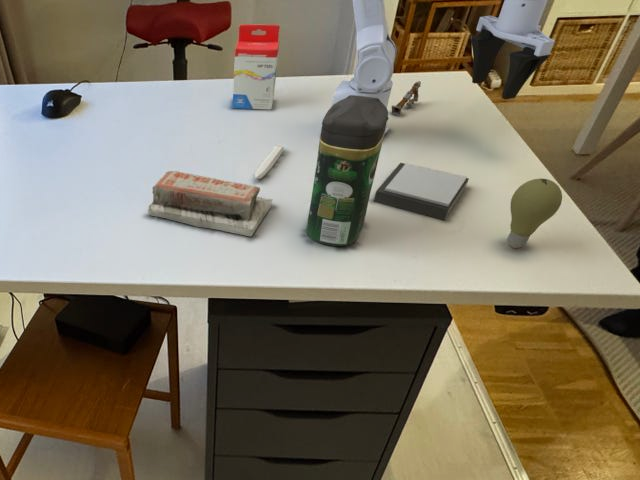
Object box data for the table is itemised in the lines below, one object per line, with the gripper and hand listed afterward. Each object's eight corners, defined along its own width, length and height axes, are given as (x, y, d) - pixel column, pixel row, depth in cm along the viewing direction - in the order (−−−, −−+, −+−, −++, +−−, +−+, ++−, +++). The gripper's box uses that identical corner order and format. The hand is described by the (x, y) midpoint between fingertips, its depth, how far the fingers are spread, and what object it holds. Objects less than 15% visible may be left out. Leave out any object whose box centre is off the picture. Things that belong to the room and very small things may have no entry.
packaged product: (143, 189, 84) (170, 161, 90) (146, 216, 88) (172, 187, 94) (254, 210, 78) (275, 178, 84) (252, 239, 82) (272, 206, 88)
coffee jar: (316, 209, 86) (336, 86, 73) (367, 219, 83) (398, 93, 70) (298, 241, 80) (316, 115, 67) (352, 253, 78) (383, 123, 64)
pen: (250, 184, 93) (250, 175, 92) (277, 149, 101) (277, 140, 100) (258, 186, 92) (259, 177, 91) (285, 150, 101) (286, 142, 100)
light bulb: (484, 237, 78) (512, 172, 71) (522, 233, 79) (554, 168, 71) (504, 259, 75) (536, 194, 67) (544, 255, 75) (580, 189, 67)
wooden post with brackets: (423, 98, 111) (424, 79, 107) (399, 125, 110) (399, 107, 106) (415, 96, 112) (416, 77, 108) (391, 123, 111) (391, 105, 107)
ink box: (231, 109, 115) (234, 31, 105) (234, 100, 119) (237, 23, 108) (272, 110, 114) (279, 31, 103) (274, 100, 117) (281, 23, 106)
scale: (373, 201, 87) (376, 188, 85) (397, 172, 93) (401, 159, 91) (444, 220, 82) (449, 206, 80) (465, 188, 88) (470, 175, 86)
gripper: (588, 3, 77) (545, 101, 87) (517, -19, 87) (485, 72, 97) (545, 9, 76) (506, 108, 86) (478, -13, 86) (450, 78, 96)
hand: (492, 89), depth 91 cm, fingers open, 7 cm apart
